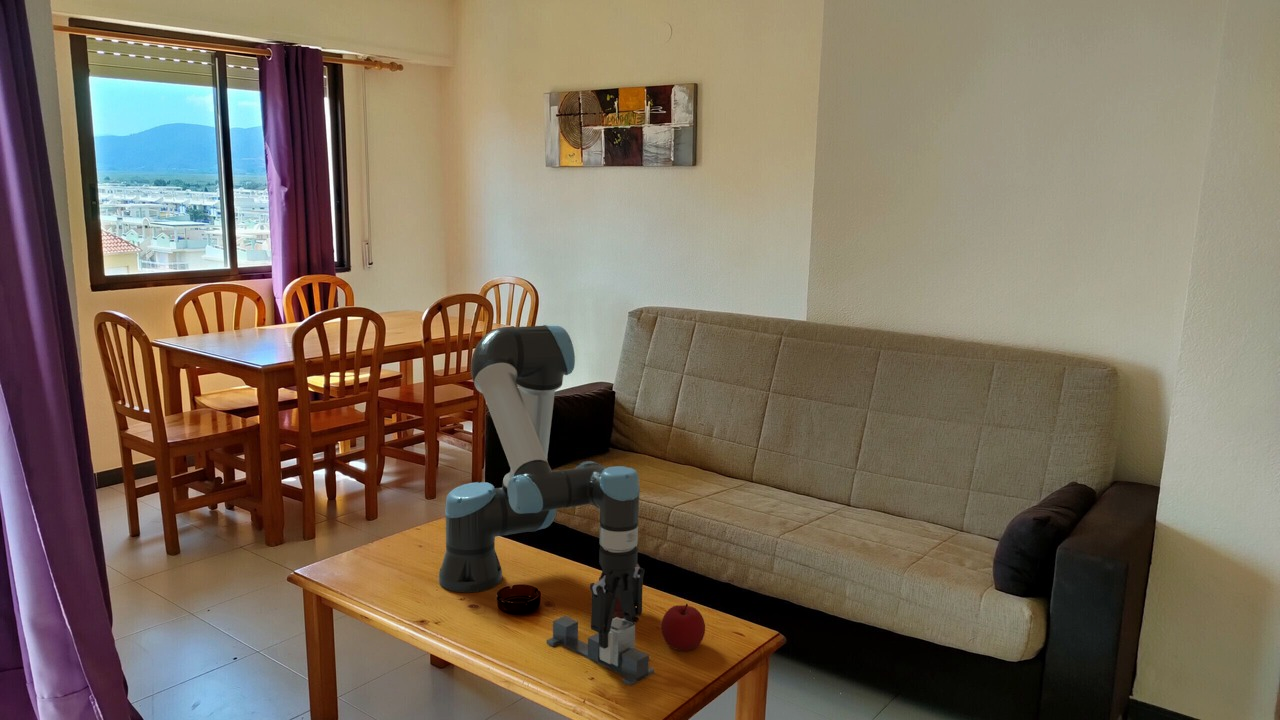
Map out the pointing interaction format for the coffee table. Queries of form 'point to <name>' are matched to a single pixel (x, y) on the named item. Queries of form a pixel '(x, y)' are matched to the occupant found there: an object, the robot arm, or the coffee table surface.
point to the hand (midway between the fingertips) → (616, 655)
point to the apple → (683, 627)
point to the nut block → (621, 639)
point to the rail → (567, 636)
